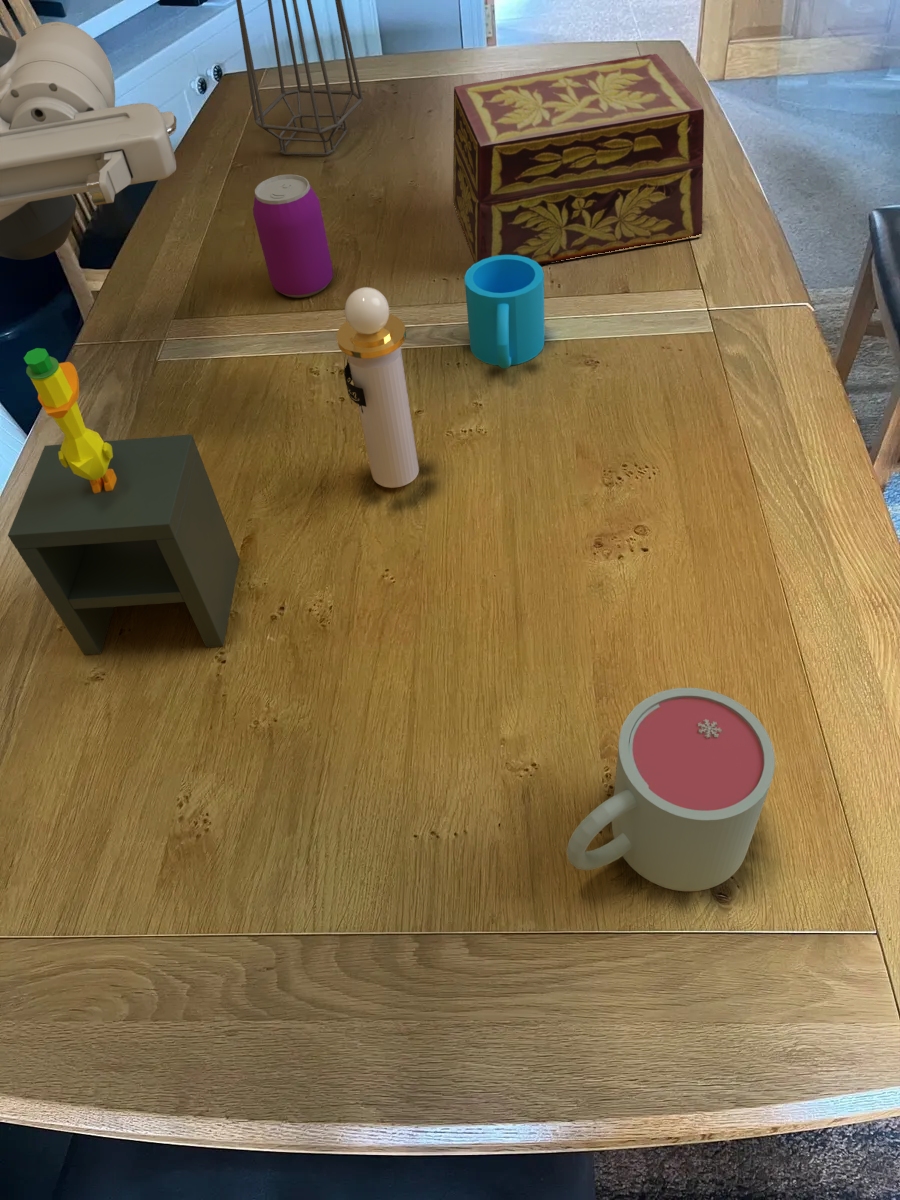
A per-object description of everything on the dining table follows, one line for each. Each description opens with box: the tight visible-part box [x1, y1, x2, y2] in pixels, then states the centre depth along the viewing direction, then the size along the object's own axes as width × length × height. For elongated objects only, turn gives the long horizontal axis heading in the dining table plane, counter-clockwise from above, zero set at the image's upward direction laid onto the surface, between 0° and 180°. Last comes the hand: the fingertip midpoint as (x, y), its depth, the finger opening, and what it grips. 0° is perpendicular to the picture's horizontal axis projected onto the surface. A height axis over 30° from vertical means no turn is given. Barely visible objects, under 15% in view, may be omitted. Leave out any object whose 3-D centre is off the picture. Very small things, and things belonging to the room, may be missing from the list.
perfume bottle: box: [336, 286, 420, 489], centre depth 82 cm, size 6×6×20 cm
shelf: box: [7, 434, 240, 656], centre depth 76 cm, size 12×10×14 cm
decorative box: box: [452, 53, 705, 266], centre depth 113 cm, size 28×19×15 cm
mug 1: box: [463, 255, 546, 369], centre depth 98 cm, size 12×8×8 cm
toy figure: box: [23, 347, 117, 493], centre depth 66 cm, size 7×4×12 cm, turn 10°
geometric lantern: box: [235, 0, 364, 156], centre depth 126 cm, size 16×16×35 cm
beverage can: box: [252, 174, 334, 299], centre depth 110 cm, size 8×8×12 cm
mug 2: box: [566, 687, 776, 892], centre depth 60 cm, size 14×9×10 cm
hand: (37, 205), depth 70 cm, fingers open, 8 cm apart
